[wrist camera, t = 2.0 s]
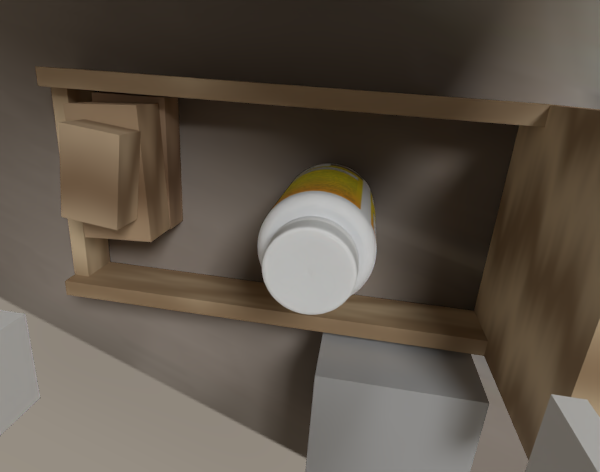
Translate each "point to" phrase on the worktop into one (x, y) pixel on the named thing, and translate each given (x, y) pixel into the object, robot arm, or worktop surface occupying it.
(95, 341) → the worktop surface
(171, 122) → the offcut slab low
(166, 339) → the worktop surface
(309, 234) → the supplement bottle
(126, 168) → the offcut block
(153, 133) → the offcut slab top
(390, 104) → the light wood open box
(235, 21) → the worktop surface
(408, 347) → the stone plinth
